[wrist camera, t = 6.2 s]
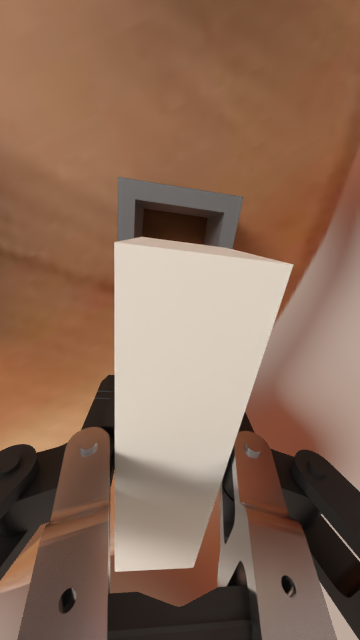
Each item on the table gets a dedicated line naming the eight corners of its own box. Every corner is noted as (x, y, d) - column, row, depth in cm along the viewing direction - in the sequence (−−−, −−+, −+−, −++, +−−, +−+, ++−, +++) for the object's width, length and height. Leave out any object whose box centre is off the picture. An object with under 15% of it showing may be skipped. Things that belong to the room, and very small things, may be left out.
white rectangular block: (141, 236, 8) (114, 242, 4) (226, 247, 9) (293, 264, 4) (131, 458, 14) (114, 571, 9) (184, 459, 14) (193, 567, 10)
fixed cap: (132, 193, 17) (118, 176, 12) (220, 206, 18) (243, 196, 13) (130, 250, 19) (117, 257, 14) (211, 259, 19) (227, 269, 14)
